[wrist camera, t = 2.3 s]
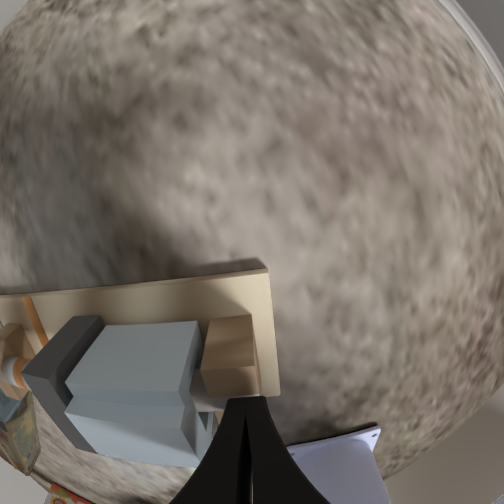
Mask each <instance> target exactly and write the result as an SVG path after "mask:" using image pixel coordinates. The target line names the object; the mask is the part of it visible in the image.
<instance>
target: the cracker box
mask: <svg viewBox="0 0 504 504" xmlns="http://www.w3.org/2000/svg"><path fill="white" fill-rule="evenodd" d="M44 504H93V503H91V502H89V501H87V500H85V499H82V498H80V497H78V496H76V495H75V494H73V493H71V492H69V491H67V490H65V489H64V488H62V487H60V486H58V485H57V484H55V483H52V485H51V488H50V490H49V493H48V495H47V498H46V500H45V503H44Z"/></svg>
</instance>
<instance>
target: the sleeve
mask: <svg viewBox="0 0 504 504" xmlns="http://www.w3.org/2000/svg"><path fill="white" fill-rule="evenodd" d="M203 352H204V345H203V341H202V337H201V334H200V330H199V326H198V322H197V321H186V322H172V323H156V324H137V325H108V326H106V327H105V328H104V329H103V331H102V332H101V333H100V334H99V336H98V337H97V338H96V340H95V341H94V342H93V344H92V345H91V346H90V348H89V349H88V350H87V352H86V353H85V354H84V356H83V357H82V359H81V360H80V361H79V363H78V364H77V366H76V367H75V368H74V370H73V371H72V373H71V374H70V375H69V377H68V378H67V380H66V381H65V383H66V385H67V387H68V388H69V390H70V391H71V393H72V395H73V396H74V397H73V398H72V400H71V402H70V403H69V405H68V407H67V408H66V410H65V412H64V413H65V414H66V415H67V417H68V418H69V419H70V421H71V422H72V423H73V425H74V426H75V427H76V428H77V430H78V431H79V432H80V433H81V435H82V436H83V437H84V438H85V439H86V441H87V442H88V443H89V444H90V445H91V446H92V448H93V449H94V450H95V451H96V452H97V453H98V454H101V455H105V456H109V457H114V458H119V459H124V460H130V461H135V462H142V463H149V464H157V465H166V466H177V467H194V468H197V467H198V465H199V464H200V462H201V460H202V459H203V457H204V455H205V453H206V452H207V450H208V448H209V446H210V444H211V438H212V427H213V417H214V412H197V409H196V407H195V404H194V402H193V399H192V397H191V394H190V392H189V389H190V384H191V380H192V375H193V371H194V369H200V368H201V363H202V358H203Z"/></svg>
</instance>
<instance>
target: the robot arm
mask: <svg viewBox="0 0 504 504" xmlns="http://www.w3.org/2000/svg"><path fill="white" fill-rule="evenodd" d="M380 431H381V429H380V427H379V426H374V427H371V428H368V429H364V430H361V431H357V432H354V433H350V434H346V435H342V436H338V437H334V438H329V439H325V440H320V441H315V442H310V443H304V444H298V445H292V446H288V447H287V448H286V447H285V445H284V443H283V441H282V439H281V437H280V435H279V433H278V432H277V430H276V427H275V425H274V423H273V420H272V418H271V415H270V413H269V410H268V406H267V402H266V397H265V396H263V395H261V396H250V397H238V398H229V399H228V400H227V404H226V407H225V411H224V414H223V416H222V419H221V422H220V424H219V427H218V429H217V431H216V433H215V436H214V438H213V440H212V442H211V444H210V446H209V448H208V450H207V452H206V453H205V455H204V457H203V459H202V460H201V462H200V464H199V465H198V467H197V469H196V470H195V472H194V473H193V475H192V476H191V477H190V479H189V480H188V482H187V483H186V484H185V485H184V487H183V488H182V489H181V490H180V492H179V493H178V494H177V495H176V496H175V498H174V499H173V500H172V501H171V502H170V503H169V504H252V482H253V504H391V501H390V499H389V496H388V493H387V490H386V488H385V485H384V482H383V480H382V477H381V474H380V472H379V469H378V467H377V464H376V461H375V459H374V456H373V454H372V451H373V448H374V446H375V444H376V441H377V439H378V436H379V434H380ZM492 504H504V494H503V495H502V496H501V497H500V498H498V499H497V500H496V501H494V502H493V503H492Z"/></svg>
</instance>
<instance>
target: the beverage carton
mask: <svg viewBox="0 0 504 504" xmlns="http://www.w3.org/2000/svg"><path fill="white" fill-rule="evenodd" d="M40 451H41V449H40V443H39V438H38V432H37V427H36V420H35V413H34V404H33V398H32V391H29V390H28V392H27V393H26V394H25V396H24V397H23V398H22V400H21V401H19V400H16V399H14V398H11V397H8V396H6V394H5V393H4V392H3V390H2V388H1V387H0V456H1V457H2V458H3V459H4V460H5V461H7V462H8V463H9V464H11V465H12V466H13V467H14V468H15V469H18V470H19V471H21V472H22V473H24V474H25V475H26V476H29V475H30V473H31V471H32V469H33V467H34V464H35V462H36V460H37V458H38V456H39V453H40Z"/></svg>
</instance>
